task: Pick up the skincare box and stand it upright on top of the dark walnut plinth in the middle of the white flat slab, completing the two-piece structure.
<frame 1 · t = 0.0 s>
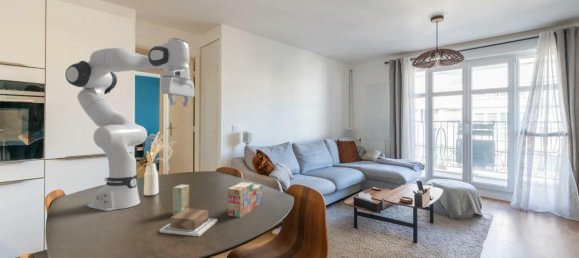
hand: (179, 105, 118), 48 cm above the table, tool pointing down, fingers open, 8 cm apart
skincare box: (181, 213, 115), on the table
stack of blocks: (246, 209, 122), on the table
walnut plinth: (190, 218, 101), on the white flat slab, point 3 cm above the table
white flat slab: (190, 226, 101), on the table
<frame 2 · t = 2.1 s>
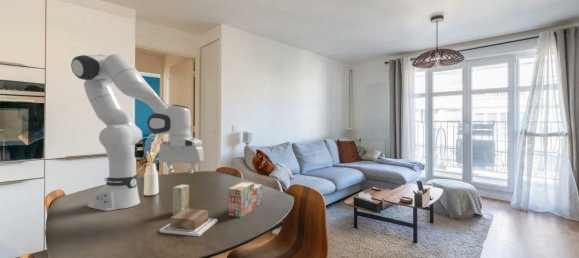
hand: (181, 172, 114), 18 cm above the table, tool pointing down, fingers open, 8 cm apart
nothing on the table moved.
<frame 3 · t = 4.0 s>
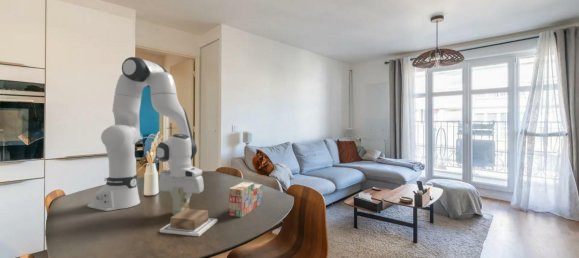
hand: (181, 201, 115), 5 cm above the table, tool pointing down, fingers closed on skincare box, 4 cm apart
skincare box: (181, 213, 115), on the table, touching gripper
everything else where it was.
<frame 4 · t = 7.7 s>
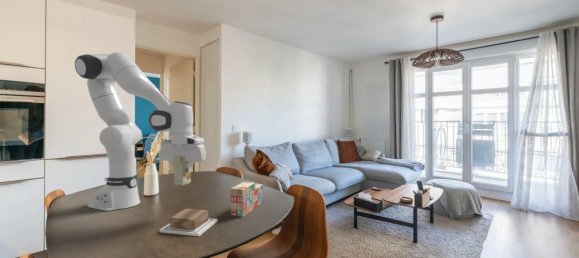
hand: (182, 171, 111), 19 cm above the table, tool pointing down, fingers closed on skincare box, 4 cm apart
skincare box: (182, 184, 111), point 14 cm above the table, touching gripper
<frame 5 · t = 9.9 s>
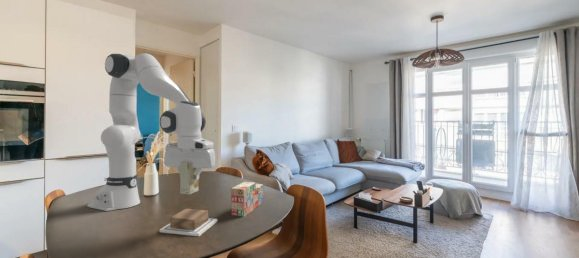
hand: (189, 178, 100), 19 cm above the table, tool pointing down, fingers closed on skincare box, 4 cm apart
skincare box: (189, 192, 100), point 13 cm above the table, touching gripper
when the fingers open (11 cm above the table, at t = 11.9 s): skincare box stays where it is, resting on walnut plinth.
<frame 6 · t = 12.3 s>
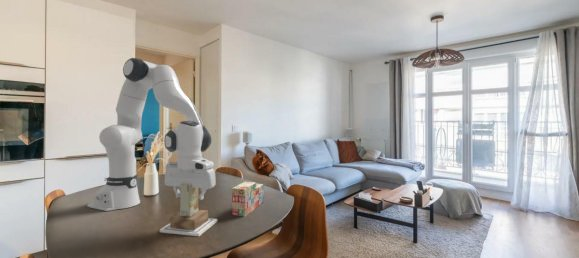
hand: (189, 198, 100), 11 cm above the table, tool pointing down, fingers open, 8 cm apart
skincare box: (189, 214, 101), point 5 cm above the table, touching walnut plinth
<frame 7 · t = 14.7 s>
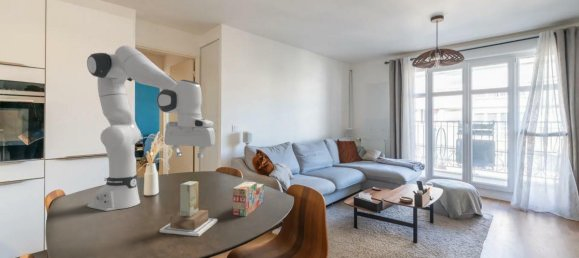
hand: (189, 157, 101), 27 cm above the table, tool pointing down, fingers open, 8 cm apart
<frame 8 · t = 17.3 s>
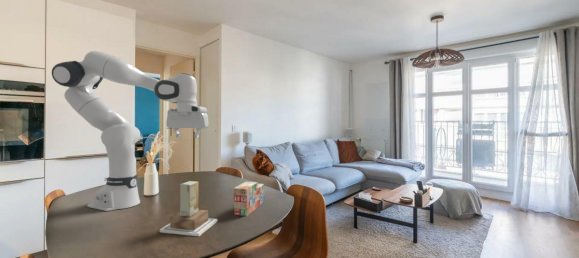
hand: (187, 137, 122), 33 cm above the table, tool pointing down, fingers open, 8 cm apart
at the end: skincare box 0.2 cm off-centre on the walnut plinth, point 4.8 cm above the walnut plinth's base; skincare box tilted 0°; the gripper is holding nothing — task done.
